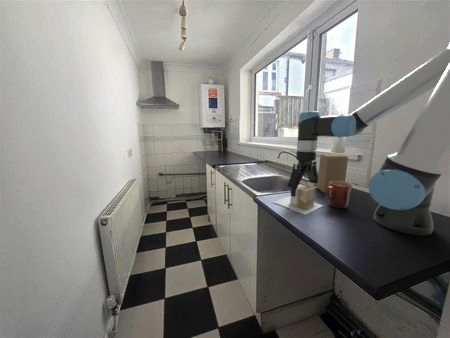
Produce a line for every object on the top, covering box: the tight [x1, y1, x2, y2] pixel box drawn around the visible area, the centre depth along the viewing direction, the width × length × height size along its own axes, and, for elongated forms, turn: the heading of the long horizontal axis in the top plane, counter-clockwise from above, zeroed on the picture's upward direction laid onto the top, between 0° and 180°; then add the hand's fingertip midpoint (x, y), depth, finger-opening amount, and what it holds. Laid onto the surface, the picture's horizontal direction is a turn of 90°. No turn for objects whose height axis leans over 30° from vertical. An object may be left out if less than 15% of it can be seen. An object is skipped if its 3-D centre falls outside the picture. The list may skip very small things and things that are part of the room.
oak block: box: [290, 183, 316, 209], centre depth 81 cm, size 7×7×8 cm
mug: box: [325, 181, 354, 209], centre depth 80 cm, size 12×9×10 cm
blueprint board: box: [273, 195, 324, 216], centre depth 83 cm, size 16×14×1 cm
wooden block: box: [316, 153, 349, 195], centre depth 98 cm, size 10×10×20 cm
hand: (302, 199), depth 81 cm, fingers open, 12 cm apart
